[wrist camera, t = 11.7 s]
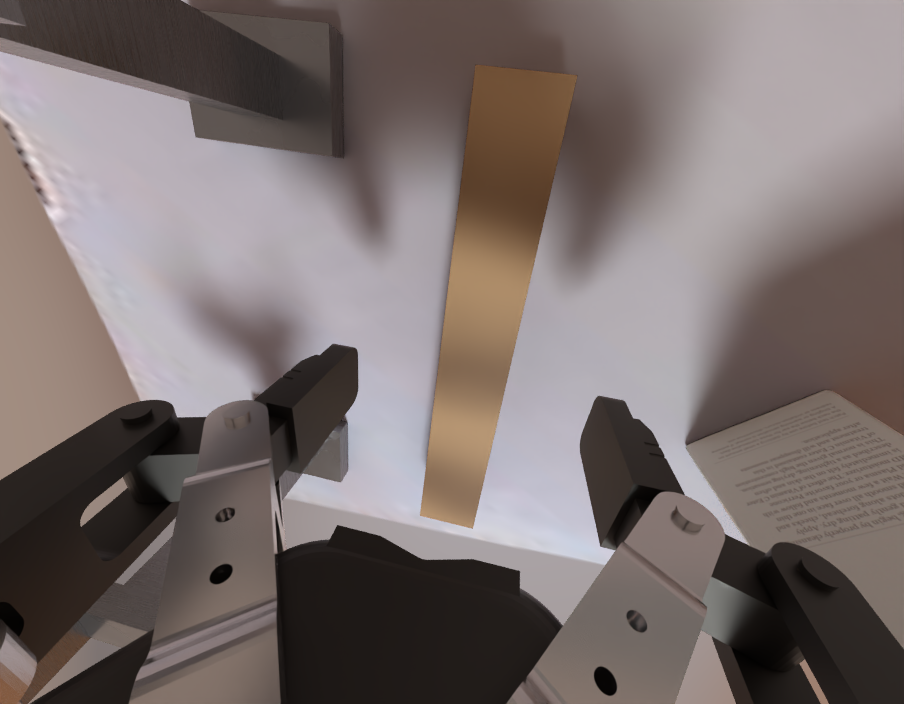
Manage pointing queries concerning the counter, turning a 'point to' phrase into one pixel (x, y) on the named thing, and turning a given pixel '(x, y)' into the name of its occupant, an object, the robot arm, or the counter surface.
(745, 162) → the counter surface
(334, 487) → the counter surface
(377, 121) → the counter surface
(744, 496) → the small box
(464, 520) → the tan wooden bar
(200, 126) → the grey support rack
